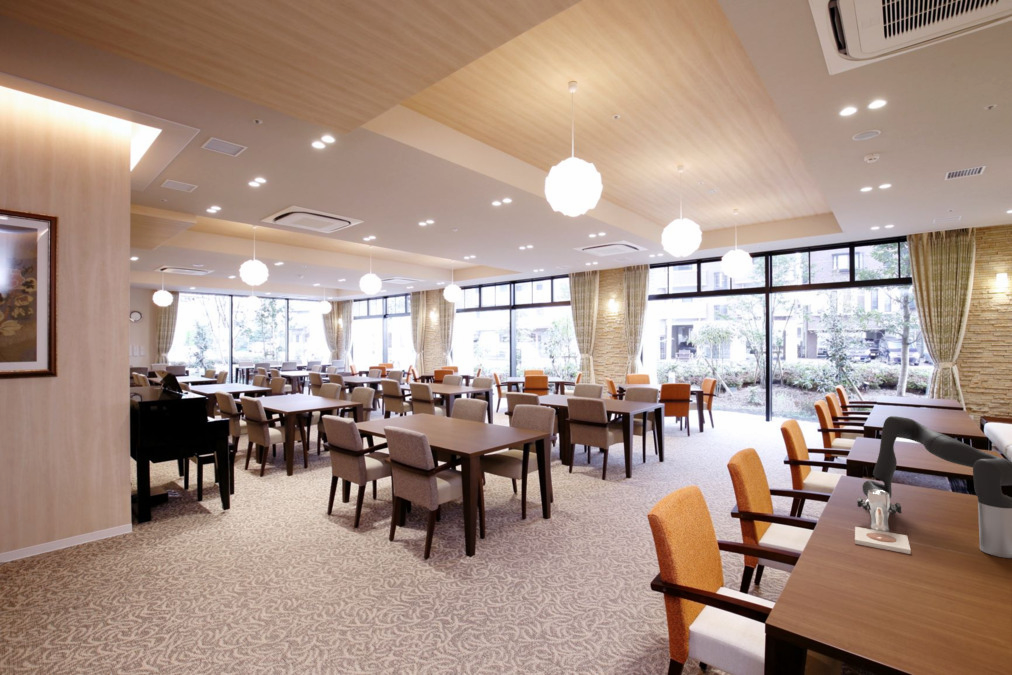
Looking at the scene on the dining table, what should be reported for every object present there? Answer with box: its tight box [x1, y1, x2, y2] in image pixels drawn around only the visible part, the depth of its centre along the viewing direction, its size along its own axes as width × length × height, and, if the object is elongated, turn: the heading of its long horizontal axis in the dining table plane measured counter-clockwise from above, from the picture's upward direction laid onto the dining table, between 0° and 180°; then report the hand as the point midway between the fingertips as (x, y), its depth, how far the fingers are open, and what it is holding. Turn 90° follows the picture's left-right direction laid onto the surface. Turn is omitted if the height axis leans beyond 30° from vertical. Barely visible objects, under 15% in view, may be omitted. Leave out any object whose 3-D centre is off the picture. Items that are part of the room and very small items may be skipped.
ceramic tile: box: [854, 526, 912, 555], centre depth 179 cm, size 16×16×2 cm
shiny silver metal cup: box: [868, 490, 891, 533], centre depth 192 cm, size 7×7×15 cm
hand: (879, 509), depth 191 cm, fingers open, 8 cm apart
